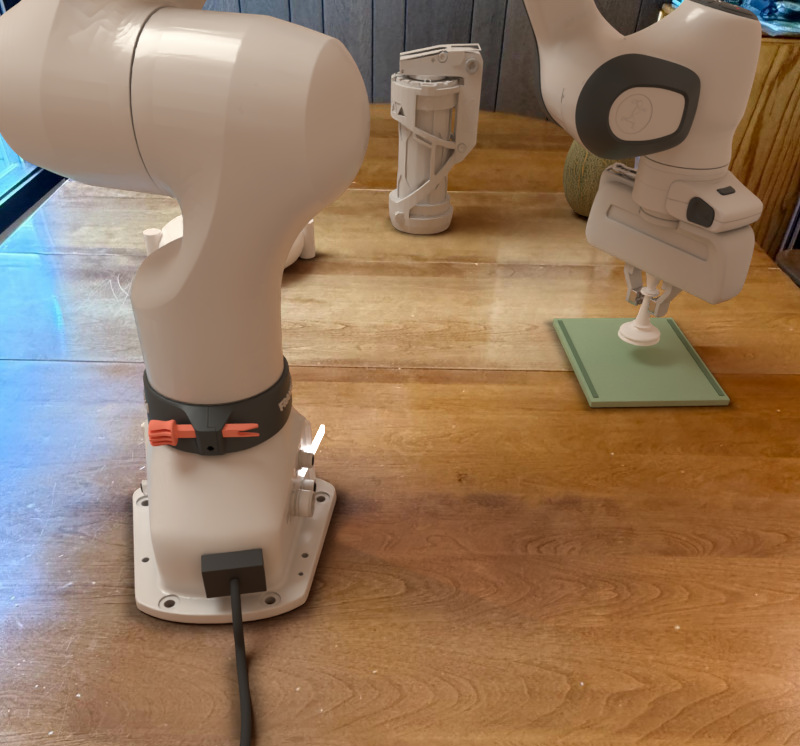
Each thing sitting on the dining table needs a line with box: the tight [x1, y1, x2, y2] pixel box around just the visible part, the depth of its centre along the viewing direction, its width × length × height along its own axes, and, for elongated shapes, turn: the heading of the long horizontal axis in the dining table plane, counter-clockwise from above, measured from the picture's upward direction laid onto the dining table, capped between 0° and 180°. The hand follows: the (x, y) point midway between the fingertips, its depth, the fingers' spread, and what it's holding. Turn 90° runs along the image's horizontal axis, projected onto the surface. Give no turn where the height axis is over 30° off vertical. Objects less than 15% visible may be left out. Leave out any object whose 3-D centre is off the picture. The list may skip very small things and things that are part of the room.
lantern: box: [388, 43, 484, 235], centre depth 118 cm, size 13×10×25 cm
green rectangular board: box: [551, 317, 731, 408], centre depth 94 cm, size 20×16×1 cm
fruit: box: [562, 139, 636, 218], centre depth 126 cm, size 11×11×15 cm
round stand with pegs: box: [142, 214, 316, 270], centre depth 111 cm, size 24×24×7 cm
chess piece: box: [618, 272, 662, 346], centre depth 89 cm, size 5×5×10 cm
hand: (645, 308), depth 90 cm, fingers closed on chess piece
